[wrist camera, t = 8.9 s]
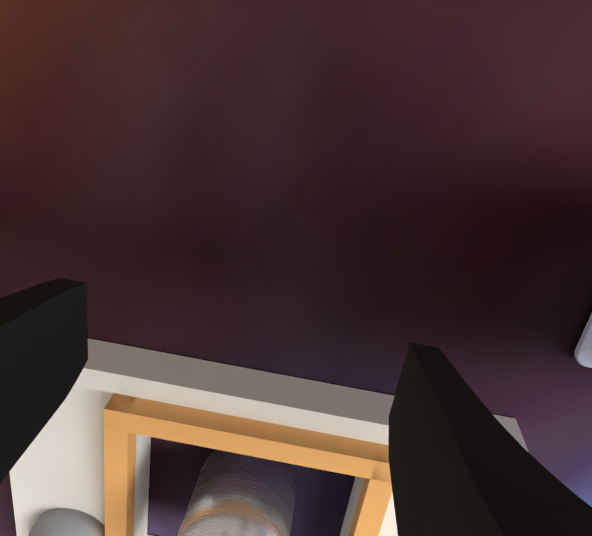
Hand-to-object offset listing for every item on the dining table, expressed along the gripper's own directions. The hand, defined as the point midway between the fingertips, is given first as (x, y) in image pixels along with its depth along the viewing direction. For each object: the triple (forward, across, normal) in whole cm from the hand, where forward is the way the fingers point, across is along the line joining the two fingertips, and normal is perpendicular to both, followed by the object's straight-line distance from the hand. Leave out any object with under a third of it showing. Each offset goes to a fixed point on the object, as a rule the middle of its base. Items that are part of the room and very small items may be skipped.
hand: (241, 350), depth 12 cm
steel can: (+9, 0, +14) cm, 17 cm away
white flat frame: (+9, 0, +15) cm, 18 cm away
